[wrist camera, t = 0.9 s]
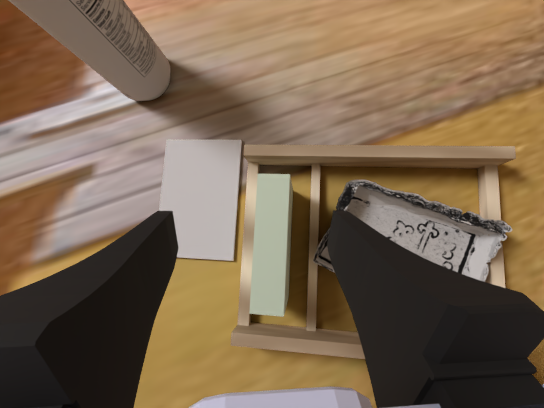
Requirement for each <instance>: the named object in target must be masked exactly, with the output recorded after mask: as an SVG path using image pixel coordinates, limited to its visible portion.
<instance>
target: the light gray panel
mask: <svg viewBox="0 0 544 408" xmlns="http://www.w3.org/2000/svg"><path fill="white" fill-rule="evenodd" d="M241 149H242V140H170V139H167V141H166V150H165V160H164V169H163V178H162V188H161V197H160V206H159V211H173V217H174V223H175V229H176V235H177V241H178V253H177V257H180V258H196V259H212V260H228V261H234V251H235V237H236V222H237V208H238V193H239V178H240V164H241Z"/></svg>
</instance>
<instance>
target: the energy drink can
mask: <svg viewBox="0 0 544 408" xmlns="http://www.w3.org/2000/svg"><path fill="white" fill-rule="evenodd" d="M9 1H10V2H11V3H13V4H14V5H15V6H16V7H17V8H19V9H20V10H21V11H22V12H24V13H25V14H26V15H27V16H28V17H30V18H31V19H32V20H33V21H35V22H36V23H37V24H38V25H39V26H41V27H42V28H43V29H44V30H46V31H47V32H48V33H49V34H51V35H52V36H53V37H54V38H55V39H57V40H58V41H59V42H60V43H62V44H63V45H64V46H65V47H66V48H68V49H69V50H70V51H71V52H73V53H74V54H75V55H76V56H77V57H79V58H80V59H81V60H82V61H84V62H85V63H86V64H87V65H88V66H90V67H91V68H92V69H93V70H95V71H96V72H97V73H98V74H100V75H101V76H102V77H103V78H104V79H106V80H107V81H108V82H109V83H111V84H112V85H113V86H114V87H115V88H117V89H118V90H119V91H120V92H122V93H123V94H124V95H125V96H126V97H128V98H130V99H133V100H137V101H148V100H153V99H156V98H158V97H159V96H161V95H162V94H163V93H164V92H165V90H166V89H167V87H168V85H169V82H170V64H169V62H168V59H167V58H166V57H165V55H164V54H163V53H162V51H161V50H160V49H159V47H158V46H157V45H156V43H155V42H154V41H153V39H152V38H151V37H150V35H149V34H148V33H147V31H146V30H145V29H144V27H143V26H142V25H141V23H140V22H139V21H138V19H137V18H136V17H135V15H134V14H133V13H132V11H131V10H130V9H129V7H128V6H127V5H126V3H125V2H124V1H123V0H9Z"/></svg>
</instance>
